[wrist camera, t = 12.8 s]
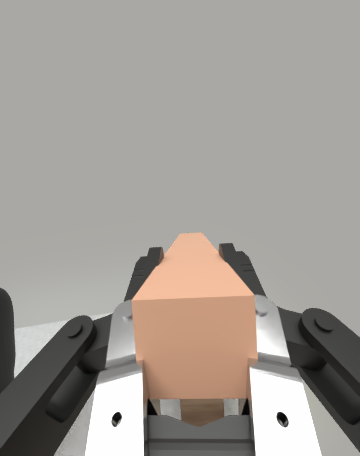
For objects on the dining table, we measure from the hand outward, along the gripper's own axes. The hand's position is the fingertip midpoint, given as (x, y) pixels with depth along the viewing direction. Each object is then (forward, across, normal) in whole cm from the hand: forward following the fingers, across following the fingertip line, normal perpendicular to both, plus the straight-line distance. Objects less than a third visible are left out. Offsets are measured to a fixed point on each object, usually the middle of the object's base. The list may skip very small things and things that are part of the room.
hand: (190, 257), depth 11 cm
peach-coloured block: (+4, 0, +6) cm, 7 cm away
